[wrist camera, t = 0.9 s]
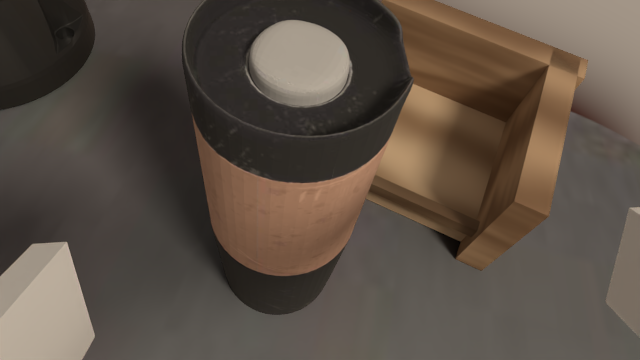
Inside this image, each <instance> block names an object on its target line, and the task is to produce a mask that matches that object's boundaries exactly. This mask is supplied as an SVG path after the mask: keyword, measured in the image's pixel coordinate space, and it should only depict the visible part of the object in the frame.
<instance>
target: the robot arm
mask: <svg viewBox="0 0 640 360" xmlns="http://www.w3.org/2000/svg"><path fill="white" fill-rule="evenodd" d="M94 38H95V29H94V24H93V21H92V18H91V15H90V13H89V10H88V8H87V5H86V3H85V0H0V110H1V109H6V108H11V107H15V106H18V105H22V104H25V103H28V102H30V101H33V100H35V99H38V98H40V97H42V96H44V95H46V94H48V93H50V92H52V91H53V90H55V89H57V88H58V87H60V86H61V85H63V84H64V83H65V82H67V81H68V80H69V79H70V78H71V77H73V76H74V75H75V74H76V73H77V72H78V71H79V69H80V68H81V67H82V66H83V64H84V63H85V62H86V60H87V58H88V57H89V55H90V53H91V50H92V48H93V44H94ZM606 303H607V304H608V305H609V307H610V308H611V309H612V310H613V311H614V312H615V313H616V314H617V315H618V316H619V317H620V318H621V319H622V320H623V321H624V322H625V323H626V324H627V325H628V326H629V327H630V328H631V329H632V330H633V331H634V332H635V333H636V334H637V335H638V336H639V337H640V207H636V208H629V212H628V215H627V219H626V223H625V227H624V231H623V235H622V239H621V243H620V247H619V251H618V255H617V259H616V262H615V266H614V270H613V274H612V278H611V282H610V286H609V290H608V294H607V298H606ZM94 337H95V334H94V331H93V328H92V324H91V321H90V318H89V314H88V311H87V308H86V304H85V301H84V298H83V294H82V291H81V288H80V284H79V281H78V277H77V274H76V271H75V267H74V264H73V261H72V257H71V254H70V251H69V247H68V244H67V242H55V243H38V244H32V245H31V246H30V247H29V248H28V249H27V250H26V251H25V252H24V253H23V254H22V255H21V256H20V257H19V258H18V259H17V260H16V261H15V262H14V263H13V264H12V265H11V266H10V267H9V268H8V269H7V270H6V271H5V272H4V273H3V274H2V275H1V276H0V360H82V359H83V357H84V355H85V354H86V352H87V350H88V348H89V346H90V345H91V343H92V341H93V339H94Z"/></svg>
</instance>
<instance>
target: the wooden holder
mask: <svg viewBox="0 0 640 360" xmlns="http://www.w3.org/2000/svg"><path fill="white" fill-rule="evenodd" d="M381 3H383V4H384V5H385V6H386V7H387V8H388V9H389V10H390V11H391V12H392V13H393V14H394V15H395V16H396V17H397V19H398V20H399V22H400V24H401V26H402V31H403V42H404V47H405V52H406V56H407V60H408V64H409V69H410V73H411V76H412V77H414V82H413V85H412V88H411V90H410V92H409V95H408V97H407V99H406V101H405V103H404V105H403V107H402V110H401V112H400V115H399V117H398V120H397V122H396V124H395V127H394V129H393V132H392V134H391V137H390V139H389V142H388V144H387V147H386V149H385V152H384V154H383V157H382V159H381V162H380V164H379V167H378V169H377V171H376V174H375V176H374V179H373V181H372V184H371V186H370V189H369V191H368V194H367V196H366V199H368V200H370V201H372V202H374V203H376V204H379V205H381V206H383V207H385V208H387V209H390V210H392V211H394V212H396V213H398V214H401V215H403V216H405V217H407V218H409V219H412V220H414V221H416V222H418V223H420V224H423V225H425V226H427V227H429V228H431V229H434V230H436V231H438V232H440V233H442V234H445V235H447V236H449V237H451V238H453V239H456V240H458V241H460V245H459V248H458V252H457V255H456V258H455V259H457V260H459V261H461V262H463V263H465V264H468V265H470V266H472V267H474V268H476V269H478V270H481V271H482V270H483V269H484V268H485V267H487V266H488V265H489V264H490V263H492V262H493V261H494V260H495V259H497V258H498V257H499V256H500V255H502V254H503V253H504V252H505V251H506V250H508V249H509V248H510V247H511V246H513V245H514V244H515V243H516V242H518V241H519V240H520V239H521V238H523V237H524V236H525V235H526V234H527V233H529V232H530V231H531V230H532V229H534V228H535V227H536V226H537V225H539V224H540V223H541V222H542V221H544V220H545V219H546V218H547V217H549V213H550V208H551V203H552V198H553V193H554V188H555V183H556V179H557V174H558V169H559V164H560V159H561V154H562V149H563V144H564V139H565V134H566V130H567V125H568V120H569V115H570V110H571V105H572V100H573V95H574V90H575V89H576V88H577V87H578V86H579V84H580V83H581V82H582V81H583V80H584V78H585V73H586V69H587V63H588V60H586V59H583V58H581V57H578V56H575V55H573V54H570V53H568V52H565V51H563V50H560V49H558V48H555V47H552V46H549V45H547V44H545V43H542V42H540V41H537V40H534V39H532V38H529V37H527V36H524V35H522V34H519V33H517V32H514V31H511V30H509V29H506V28H504V27H501V26H499V25H496V24H493V23H491V22H488V21H486V20H483V19H481V18H478V17H476V16H473V15H471V14H468V13H465V12H463V11H460V10H458V9H455V8H452V7H450V6H447V5H445V4H442V3H440V2H437V1H434V0H382V2H381Z"/></svg>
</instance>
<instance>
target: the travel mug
mask: <svg viewBox="0 0 640 360" xmlns="http://www.w3.org/2000/svg"><path fill="white" fill-rule="evenodd" d="M182 62H183V68H184V74H185V79H186V85H187V90H188V96H189V101H190V107H191V112H192V118H193V124H194V129H195V135H196V140H197V146H198V152H199V157H200V163H201V168H202V174H203V180H204V185H205V191H206V196H207V202H208V207H209V213H210V219H211V224H212V228H213V232H214V235H215V239H216V242H217V246H218V249H219V253H220V257H221V260H222V264H223V267H224V271H225V274H226V277H227V280H228V282H229V284H230V286H231V288H232V290H233V292H234V293H235V295H236V296H237V297H238V298H239V299H240V300H241V301H242V302H243V303H244V304H246V305H247V306H249V307H250V308H252V309H254V310H257V311H259V312H262V313H266V314H274V315H280V314H288V313H292V312H295V311H298V310H300V309H302V308H304V307H305V306H307V305H308V304H310V303H311V302H312V301H313V300H314V299H315V298H316V297H317V296H318V295H319V294H320V292H321V291H322V289H323V288H324V286H325V284H326V282H327V281H328V279H329V277H330V275H331V273H332V271H333V269H334V267H335V265H336V263H337V262H338V260H339V258H340V256H341V254H342V252H343V250H344V248H345V246H346V244H347V242H348V240H349V238H350V236H351V233H352V231H353V228H354V226H355V223H356V221H357V219H358V216H359V214H360V211H361V209H362V206H363V204H364V201H365V199H366V196H367V194H368V191H369V189H370V186H371V184H372V181H373V179H374V176H375V174H376V171H377V169H378V167H379V164H380V162H381V159H382V157H383V154H384V152H385V149H386V147H387V144H388V142H389V139H390V137H391V134H392V132H393V129H394V127H395V124H396V122H397V120H398V117H399V115H400V112H401V110H402V107H403V105H404V103H405V101H406V99H407V97H408V95H409V92H410V90H411V88H412V85H413V82H414V77H412V76H411V73H410V69H409V64H408V60H407V56H406V52H405V47H404V42H403V31H402V26H401V24H400V22H399V20H398V19H397V17H396V16H395V15H394V14H393V13H392V12H391V11H390V10H389V9H388V8H387V7H386V6H385V5H384V4H383V3H381V2H380V1H379V0H203V1H202V2H201V3H200V5H199V6H198V7H197V8H196V9H195V11H194V12H193V14H192V16H191V17H190V19H189V21H188V24H187V26H186V29H185V31H184V36H183V41H182Z"/></svg>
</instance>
